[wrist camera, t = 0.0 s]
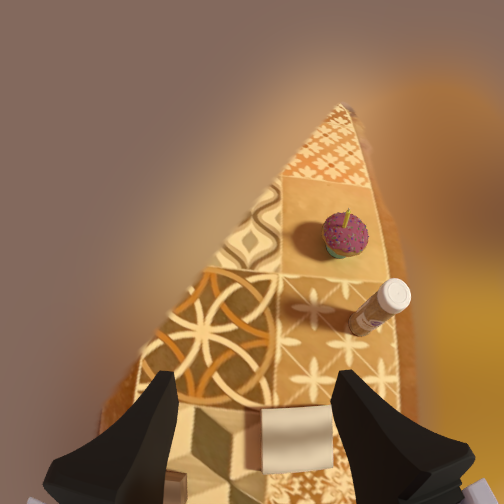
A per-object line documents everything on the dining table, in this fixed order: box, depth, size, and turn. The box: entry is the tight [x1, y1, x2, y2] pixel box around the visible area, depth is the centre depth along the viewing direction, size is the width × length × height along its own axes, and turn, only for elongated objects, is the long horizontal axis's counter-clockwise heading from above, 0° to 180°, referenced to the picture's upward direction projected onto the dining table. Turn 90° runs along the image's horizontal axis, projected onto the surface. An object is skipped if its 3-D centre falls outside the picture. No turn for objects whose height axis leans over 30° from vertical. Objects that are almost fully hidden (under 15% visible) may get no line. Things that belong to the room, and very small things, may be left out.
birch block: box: [261, 405, 333, 475], centre depth 37 cm, size 10×10×3 cm
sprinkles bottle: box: [349, 278, 411, 337], centre depth 41 cm, size 5×5×13 cm
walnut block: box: [163, 471, 187, 504], centre depth 30 cm, size 4×4×6 cm
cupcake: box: [322, 208, 369, 259], centre depth 49 cm, size 9×8×12 cm
